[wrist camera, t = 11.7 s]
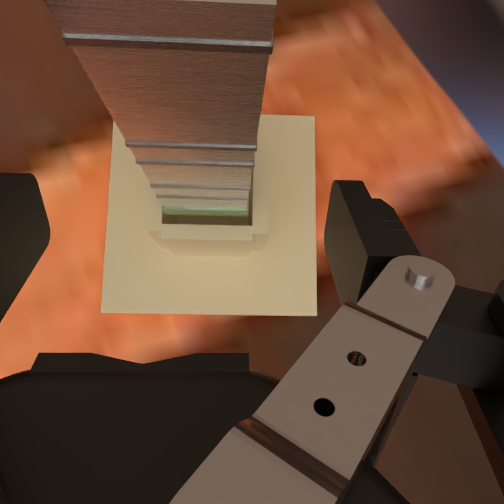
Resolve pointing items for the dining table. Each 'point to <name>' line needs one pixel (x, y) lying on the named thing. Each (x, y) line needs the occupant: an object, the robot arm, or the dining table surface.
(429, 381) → the dining table surface
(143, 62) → the column
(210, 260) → the stand base
